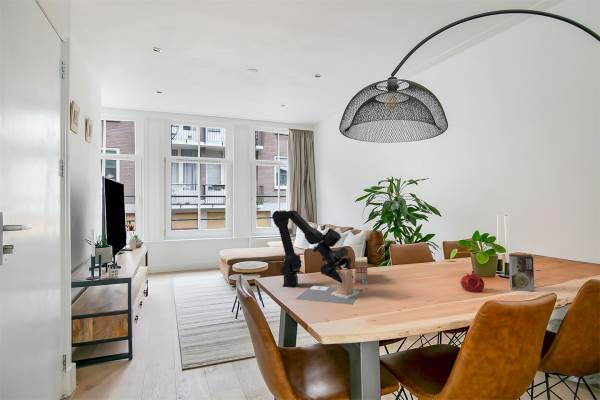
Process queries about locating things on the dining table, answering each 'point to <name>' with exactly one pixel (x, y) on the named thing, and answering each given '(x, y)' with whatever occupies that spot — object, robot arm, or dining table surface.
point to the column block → (345, 282)
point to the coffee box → (521, 272)
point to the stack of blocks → (361, 270)
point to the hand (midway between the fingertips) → (347, 280)
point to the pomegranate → (472, 283)
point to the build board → (328, 295)
